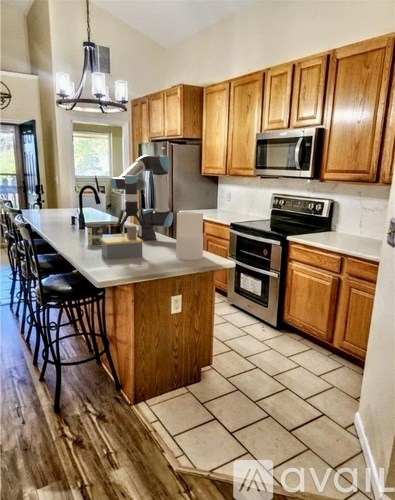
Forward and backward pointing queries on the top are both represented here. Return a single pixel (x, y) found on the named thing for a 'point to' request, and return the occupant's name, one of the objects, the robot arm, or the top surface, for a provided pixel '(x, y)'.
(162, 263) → the top surface
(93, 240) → the coffee can
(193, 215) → the cylinder
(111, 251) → the tub
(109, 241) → the lid
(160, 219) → the robot arm
